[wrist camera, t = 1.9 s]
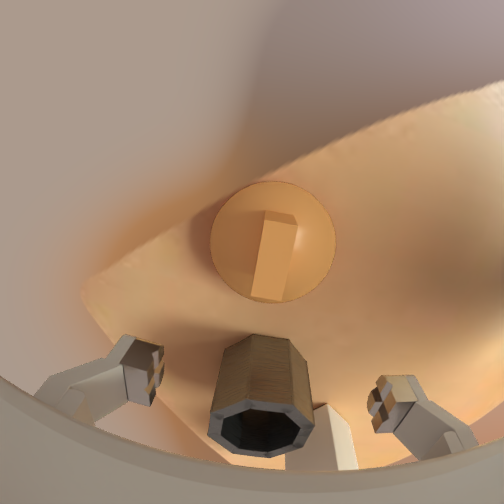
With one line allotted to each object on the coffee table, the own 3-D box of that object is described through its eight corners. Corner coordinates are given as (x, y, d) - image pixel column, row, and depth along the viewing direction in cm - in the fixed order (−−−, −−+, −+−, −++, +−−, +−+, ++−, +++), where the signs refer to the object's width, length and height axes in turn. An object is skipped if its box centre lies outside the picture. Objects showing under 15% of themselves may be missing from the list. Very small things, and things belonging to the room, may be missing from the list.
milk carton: (327, 402, 34) (346, 525, 16) (349, 423, 36) (370, 531, 18) (283, 422, 36) (284, 539, 18) (309, 441, 37) (316, 545, 19)
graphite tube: (313, 342, 31) (325, 406, 22) (292, 399, 34) (295, 460, 25) (227, 329, 31) (212, 392, 22) (219, 388, 34) (205, 448, 25)
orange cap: (340, 192, 26) (362, 203, 19) (314, 297, 30) (325, 334, 23) (224, 170, 26) (209, 174, 19) (209, 279, 30) (193, 312, 23)
